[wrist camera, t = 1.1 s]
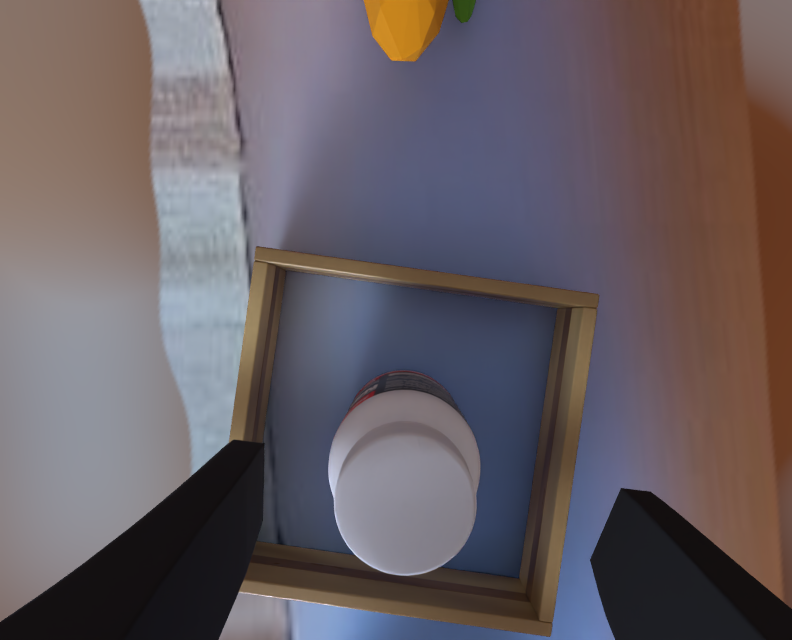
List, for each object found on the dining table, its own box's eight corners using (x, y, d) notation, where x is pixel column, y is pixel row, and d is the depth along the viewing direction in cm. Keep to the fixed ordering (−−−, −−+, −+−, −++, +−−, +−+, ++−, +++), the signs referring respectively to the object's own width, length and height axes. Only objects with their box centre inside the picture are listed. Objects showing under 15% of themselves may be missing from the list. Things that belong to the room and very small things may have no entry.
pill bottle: (367, 354, 21) (344, 381, 12) (471, 387, 21) (526, 439, 12) (333, 460, 21) (285, 566, 12) (438, 493, 21) (467, 624, 12)
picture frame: (529, 592, 21) (551, 638, 18) (234, 550, 21) (207, 589, 18) (571, 297, 21) (600, 293, 18) (275, 255, 21) (254, 245, 18)
